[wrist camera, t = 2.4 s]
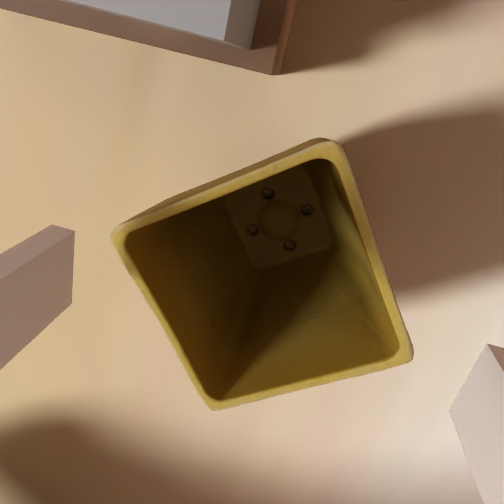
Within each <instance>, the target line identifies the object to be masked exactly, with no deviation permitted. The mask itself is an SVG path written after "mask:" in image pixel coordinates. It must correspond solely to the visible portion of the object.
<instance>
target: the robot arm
mask: <svg viewBox="0 0 504 504" xmlns="http://www.w3.org/2000/svg"><path fill="white" fill-rule="evenodd" d="M74 237H75V231H73V230H70V229H66V228H62V227H59V226H55V225H51V226H49V227H47V228H45V229H44V230H42V231H40V232H38V233H37V234H35V235H33V236H31V237H30V238H28V239H26V240H24V241H23V242H21V243H19V244H17V245H16V246H14V247H12V248H10V249H9V250H7V251H5V252H4V253H2V254H0V370H1V369H2V368H3V367H4V366H5V365H6V364H7V363H8V362H9V361H10V360H11V359H12V358H13V357H15V356H16V355H17V354H18V353H19V352H20V351H21V350H22V349H23V348H24V347H25V346H26V345H27V344H29V343H30V342H31V341H32V340H33V339H34V338H35V337H36V336H37V335H38V334H39V333H40V332H41V331H42V330H44V329H45V328H46V327H47V326H48V325H49V324H50V323H51V322H52V321H53V320H54V319H55V318H56V317H57V316H59V315H60V314H61V313H62V312H63V311H64V310H65V309H66V308H67V307H68V306H69V305H70V304H71V303H72V283H73V260H74ZM449 412H450V414H451V417H452V420H453V422H454V425H455V428H456V431H457V433H458V436H459V439H460V441H461V444H462V447H463V449H464V452H465V455H466V458H467V460H468V463H469V466H470V468H471V471H472V474H473V476H474V479H475V482H476V485H477V487H478V490H479V493H480V495H481V498H482V501H483V503H484V504H504V348H501V347H498V346H494V345H490V344H486V346H485V347H484V349H483V351H482V353H481V355H480V356H479V358H478V360H477V362H476V363H475V365H474V367H473V369H472V370H471V372H470V374H469V376H468V377H467V379H466V381H465V383H464V384H463V386H462V388H461V390H460V391H459V393H458V395H457V397H456V398H455V400H454V402H453V404H452V405H451V407H450V409H449Z"/></svg>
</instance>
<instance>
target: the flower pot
mask: <svg viewBox="0 0 504 504" xmlns="http://www.w3.org/2000/svg"><path fill="white" fill-rule="evenodd" d="M266 188H270V189H272V190H273V196H272V197H271V198H265V197H264V195H263V191H264V190H265V189H266ZM304 205H310V206H311V207H312V212H311V213H310V214H304V213H303V212H302V207H303V206H304ZM250 225H255V226H256V227H257V228H258V231H257V233H255V234H251V233H249V231H248V227H249V226H250ZM110 239H111V242H112V244H113V246H114V248H115V251H116V252H117V254H118V255H119V257H120V259H121V261H122V263H123V264H124V266H125V267H126V269H127V271H128V272H129V274H130V276H131V277H132V279H133V281H134V282H135V283H136V285H137V287H138V288H139V290H140V292H141V293H142V295H143V297H144V299H145V300H146V302H147V304H148V305H149V307H150V308H151V310H152V312H153V313H154V315H155V316H156V318H157V320H158V321H159V323H160V325H161V327H162V328H163V330H164V332H165V334H166V335H167V337H168V339H169V341H170V343H171V345H172V346H173V348H174V350H175V352H176V354H177V356H178V358H179V360H180V362H181V363H182V365H183V367H184V369H185V371H186V373H187V374H188V376H189V378H190V380H191V382H192V383H193V385H194V387H195V389H196V391H197V393H198V394H199V396H200V397H201V399H202V400H203V401H204V402H205V404H206V405H207V406H208V407H209V408H210V409H211V410H222V409H227V408H231V407H235V406H239V405H242V404H246V403H250V402H255V401H259V400H262V399H266V398H269V397H273V396H277V395H281V394H285V393H290V392H294V391H298V390H302V389H305V388H309V387H313V386H318V385H323V384H327V383H331V382H334V381H338V380H342V379H346V378H352V377H357V376H361V375H365V374H368V373H372V372H376V371H381V370H385V369H389V368H392V367H395V366H399V365H402V364H405V363H408V362H410V361H411V360H412V359H413V354H414V350H413V345H412V342H411V340H410V337H409V334H408V332H407V329H406V327H405V324H404V321H403V318H402V316H401V313H400V310H399V308H398V305H397V302H396V299H395V296H394V293H393V291H392V288H391V285H390V282H389V279H388V276H387V273H386V271H385V268H384V265H383V262H382V258H381V256H380V253H379V250H378V247H377V244H376V241H375V238H374V236H373V233H372V230H371V227H370V224H369V221H368V218H367V215H366V212H365V209H364V206H363V202H362V199H361V196H360V193H359V190H358V187H357V184H356V181H355V178H354V175H353V172H352V169H351V166H350V164H349V161H348V158H347V156H346V154H345V151H344V149H343V147H342V146H341V145H340V144H339V143H338V142H335V141H332V140H329V139H326V138H315V139H311V140H309V141H307V142H304V143H302V144H300V145H298V146H295V147H293V148H291V149H288V150H286V151H284V152H281V153H279V154H277V155H274V156H272V157H270V158H267V159H265V160H263V161H260V162H258V163H255V164H253V165H251V166H248V167H246V168H243V169H241V170H238V171H236V172H233V173H231V174H228V175H226V176H223V177H221V178H218V179H216V180H213V181H211V182H208V183H206V184H203V185H201V186H198V187H196V188H193V189H191V190H188V191H185V192H183V193H180V194H178V195H175V196H173V197H171V198H168V199H166V200H164V201H162V202H161V203H159V204H157V205H155V206H153V207H151V208H149V209H147V210H145V211H144V212H142V213H140V214H138V215H136V216H134V217H132V218H131V219H129V220H127V221H125V222H123V223H121V224H120V225H118V226H117V227H115V228H114V229H113V231H112V232H111V234H110ZM287 241H293V242H294V243H295V247H294V248H293V249H287V248H286V247H285V243H286V242H287Z"/></svg>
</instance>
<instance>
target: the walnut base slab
mask: <svg viewBox="0 0 504 504" xmlns="http://www.w3.org/2000/svg"><path fill="white" fill-rule="evenodd" d="M296 4H297V0H260V5H259V9H258V14H257V19H256V24H255V28H254V33H253V38H252V42H251V47H250V50H247V49H243V48H239V47H235V46H232V45H228V44H224V43H220V42H216V41H212V40H208V39H205V38H201V37H197V36H193V35H189V34H185V33H182V32H178V31H174V30H170V29H166V28H162V27H158V26H155V25H151V24H147V23H143V22H139V21H135V20H132V19H128V18H124V17H120V16H116V15H112V14H108V13H105V12H101V11H97V10H93V9H89V8H85V7H82V6H78V5H74V4H70V3H66V2H62V1H58V0H0V8H1V9H5V10H9V11H13V12H17V13H21V14H25V15H29V16H33V17H37V18H41V19H45V20H49V21H54V22H58V23H62V24H66V25H70V26H74V27H78V28H82V29H86V30H90V31H94V32H98V33H102V34H106V35H110V36H114V37H118V38H122V39H126V40H131V41H135V42H139V43H143V44H147V45H151V46H155V47H159V48H163V49H167V50H171V51H175V52H179V53H183V54H187V55H191V56H195V57H199V58H203V59H208V60H212V61H216V62H220V63H224V64H228V65H232V66H236V67H240V68H244V69H248V70H252V71H256V72H260V73H264V74H268V75H280V73H281V68H282V64H283V60H284V55H285V51H286V47H287V42H288V38H289V34H290V29H291V25H292V21H293V17H294V12H295V8H296Z"/></svg>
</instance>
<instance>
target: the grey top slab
mask: <svg viewBox="0 0 504 504" xmlns="http://www.w3.org/2000/svg"><path fill="white" fill-rule="evenodd" d="M58 1H62V2H66V3H70V4H74V5H78V6H82V7H85V8H89V9H93V10H97V11H101V12H105V13H108V14H112V15H116V16H120V17H124V18H128V19H132V20H135V21H139V22H143V23H147V24H151V25H155V26H158V27H162V28H166V29H170V30H174V31H178V32H182V33H185V34H189V35H193V36H197V37H201V38H205V39H208V40H212V41H216V42H220V43H224V44H228V45H232V46H235V47H239V48H243V49H247V50H250V47H251V42H252V38H253V33H254V28H255V24H256V19H257V14H258V9H259V5H260V0H58Z"/></svg>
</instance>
